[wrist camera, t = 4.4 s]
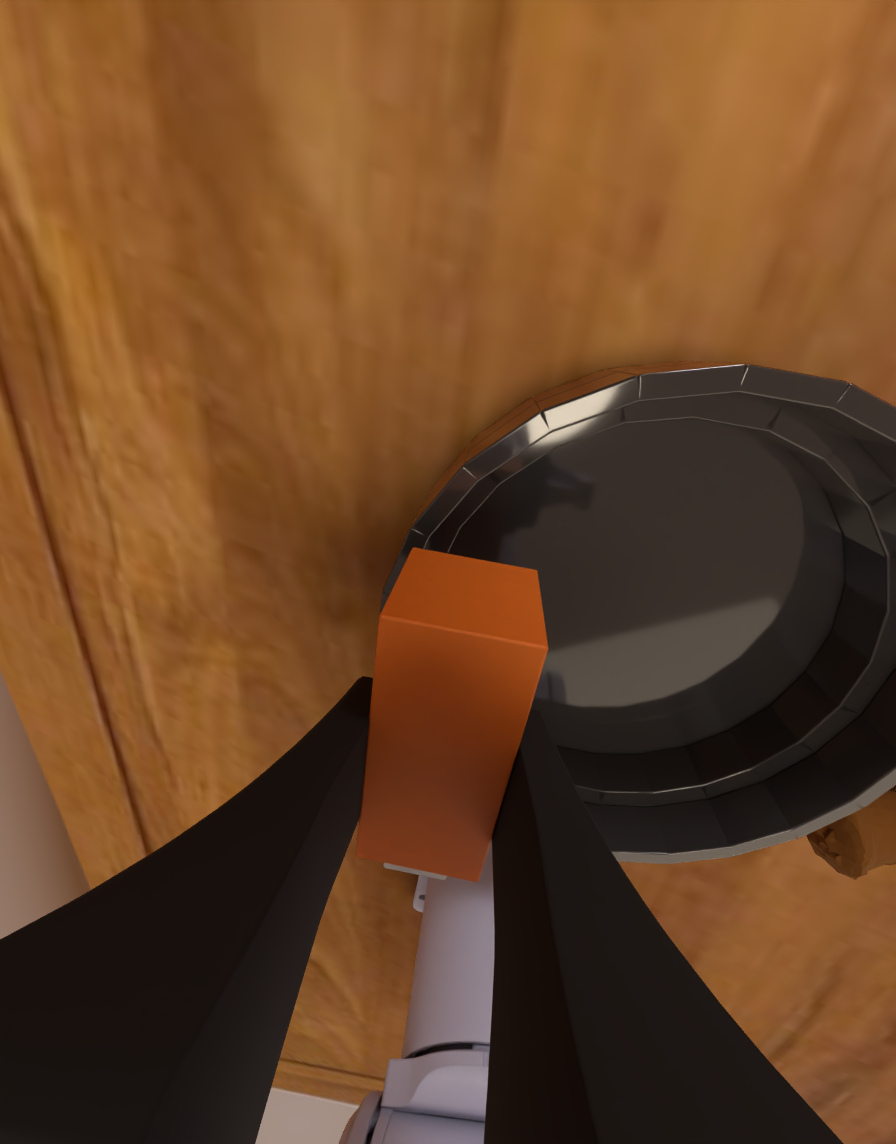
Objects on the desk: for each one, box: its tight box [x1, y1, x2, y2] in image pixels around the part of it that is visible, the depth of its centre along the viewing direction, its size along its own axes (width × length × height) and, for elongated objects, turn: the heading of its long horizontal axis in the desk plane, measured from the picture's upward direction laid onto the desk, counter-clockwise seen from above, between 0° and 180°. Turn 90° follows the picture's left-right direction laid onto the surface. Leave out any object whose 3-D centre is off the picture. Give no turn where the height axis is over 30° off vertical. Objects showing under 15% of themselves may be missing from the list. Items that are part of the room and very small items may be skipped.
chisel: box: [356, 548, 548, 882], centre depth 11 cm, size 11×3×3 cm, turn 171°
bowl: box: [380, 361, 896, 864], centre depth 16 cm, size 17×17×4 cm
